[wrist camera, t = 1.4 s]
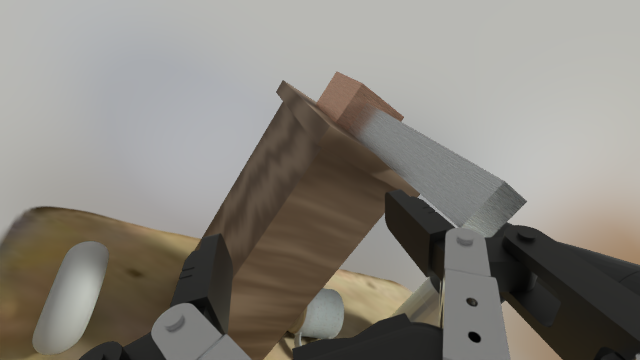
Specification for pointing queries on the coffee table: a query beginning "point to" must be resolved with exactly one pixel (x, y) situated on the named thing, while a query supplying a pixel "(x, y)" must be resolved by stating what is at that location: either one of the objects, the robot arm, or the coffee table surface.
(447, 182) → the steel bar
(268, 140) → the walnut stand
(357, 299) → the coffee table surface
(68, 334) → the donut
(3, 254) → the coffee table surface
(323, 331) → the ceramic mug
